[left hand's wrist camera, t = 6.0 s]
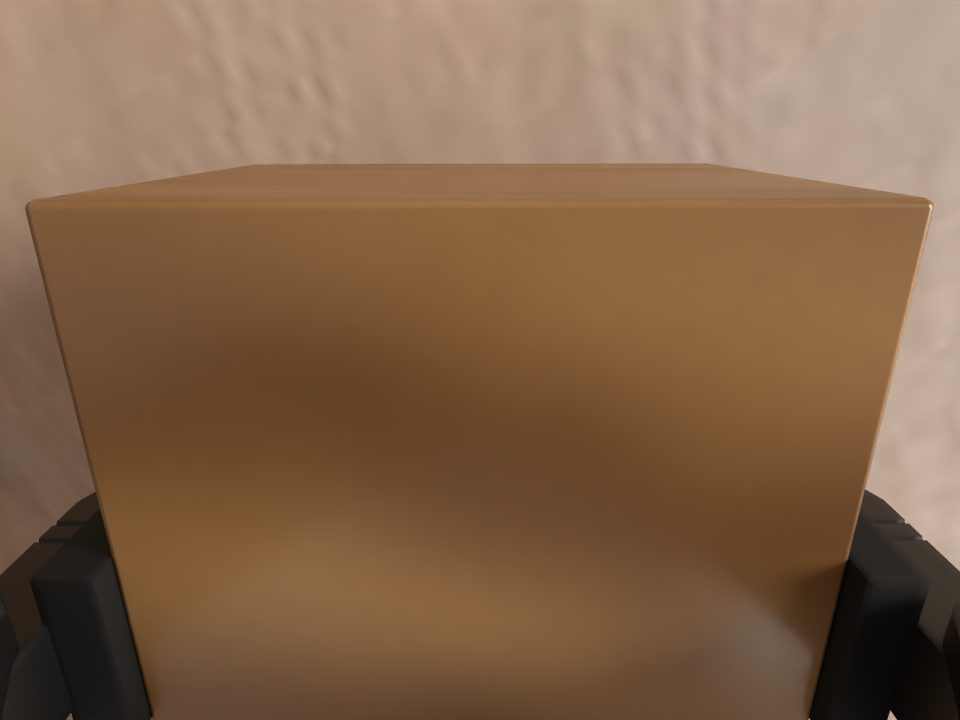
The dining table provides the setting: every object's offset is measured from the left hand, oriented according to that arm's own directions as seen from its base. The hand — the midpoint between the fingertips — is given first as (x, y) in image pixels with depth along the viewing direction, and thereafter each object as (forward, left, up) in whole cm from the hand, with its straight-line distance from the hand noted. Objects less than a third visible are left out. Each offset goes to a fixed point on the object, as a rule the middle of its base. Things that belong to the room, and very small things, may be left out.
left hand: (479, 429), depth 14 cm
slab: (+21, 0, -1) cm, 21 cm away
